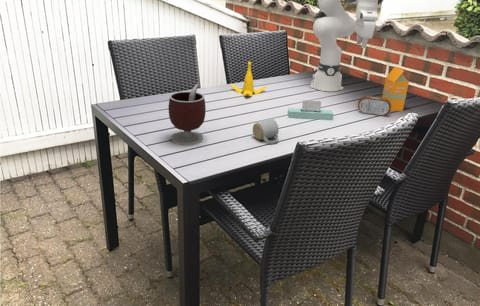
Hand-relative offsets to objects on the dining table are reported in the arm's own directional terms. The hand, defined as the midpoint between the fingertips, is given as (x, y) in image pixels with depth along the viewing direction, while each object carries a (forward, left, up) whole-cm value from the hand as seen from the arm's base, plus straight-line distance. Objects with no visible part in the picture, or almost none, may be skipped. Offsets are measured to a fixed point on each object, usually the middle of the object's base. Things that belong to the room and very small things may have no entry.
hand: (360, 45), depth 190 cm
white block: (+12, -21, -31) cm, 39 cm away
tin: (+3, +10, -31) cm, 33 cm away
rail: (+12, -21, -31) cm, 39 cm away
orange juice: (-8, +22, -31) cm, 39 cm away
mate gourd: (+44, -72, -31) cm, 90 cm away
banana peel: (-22, -48, -32) cm, 61 cm away
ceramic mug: (+41, -41, -31) cm, 66 cm away
